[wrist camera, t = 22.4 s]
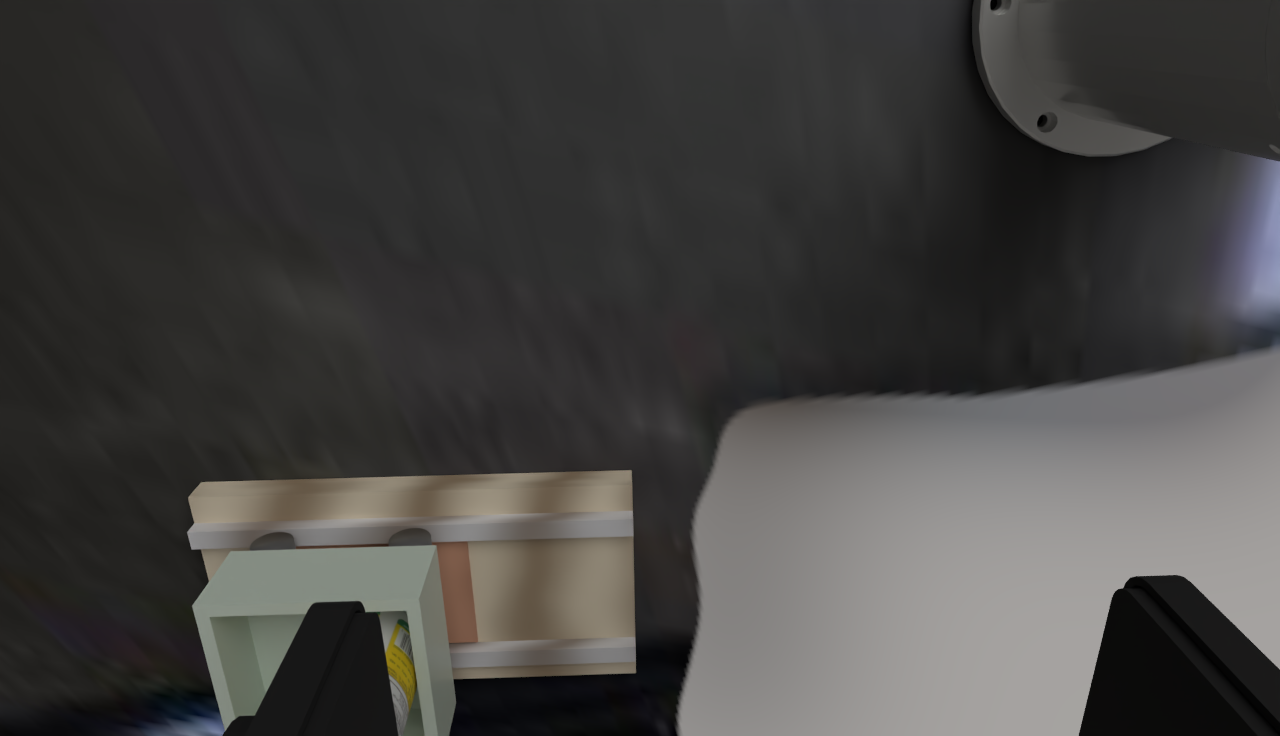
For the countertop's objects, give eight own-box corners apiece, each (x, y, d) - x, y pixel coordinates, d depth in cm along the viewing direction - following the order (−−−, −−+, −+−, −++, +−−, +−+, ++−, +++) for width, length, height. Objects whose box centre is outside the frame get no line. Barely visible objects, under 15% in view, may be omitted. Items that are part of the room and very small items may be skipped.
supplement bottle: (446, 624, 41) (401, 794, 32) (398, 700, 43) (343, 881, 34) (341, 578, 40) (264, 741, 31) (296, 657, 41) (210, 834, 32)
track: (631, 470, 44) (632, 493, 42) (635, 654, 49) (636, 683, 47) (201, 482, 44) (180, 506, 42) (246, 667, 48) (229, 697, 46)
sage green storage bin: (444, 521, 42) (418, 598, 37) (462, 674, 46) (441, 765, 40) (247, 527, 42) (192, 605, 36) (281, 680, 46) (236, 773, 40)
